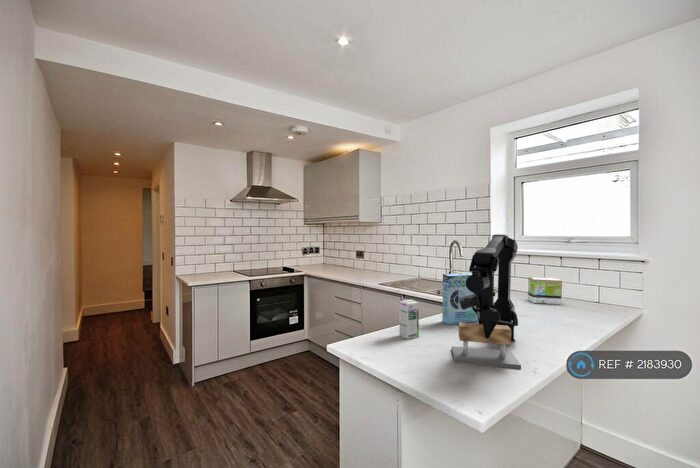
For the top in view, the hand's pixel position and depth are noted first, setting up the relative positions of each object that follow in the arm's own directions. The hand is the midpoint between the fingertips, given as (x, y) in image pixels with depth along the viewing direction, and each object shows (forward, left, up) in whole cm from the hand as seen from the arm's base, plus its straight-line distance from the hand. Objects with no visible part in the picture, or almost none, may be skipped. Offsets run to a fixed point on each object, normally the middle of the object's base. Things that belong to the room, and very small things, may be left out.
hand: (484, 333), depth 110 cm
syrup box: (+26, -17, -9) cm, 32 cm away
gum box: (+2, -44, -9) cm, 45 cm away
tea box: (-52, -98, -9) cm, 111 cm away
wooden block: (0, 0, -2) cm, 2 cm away
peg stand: (0, 0, -8) cm, 8 cm away
